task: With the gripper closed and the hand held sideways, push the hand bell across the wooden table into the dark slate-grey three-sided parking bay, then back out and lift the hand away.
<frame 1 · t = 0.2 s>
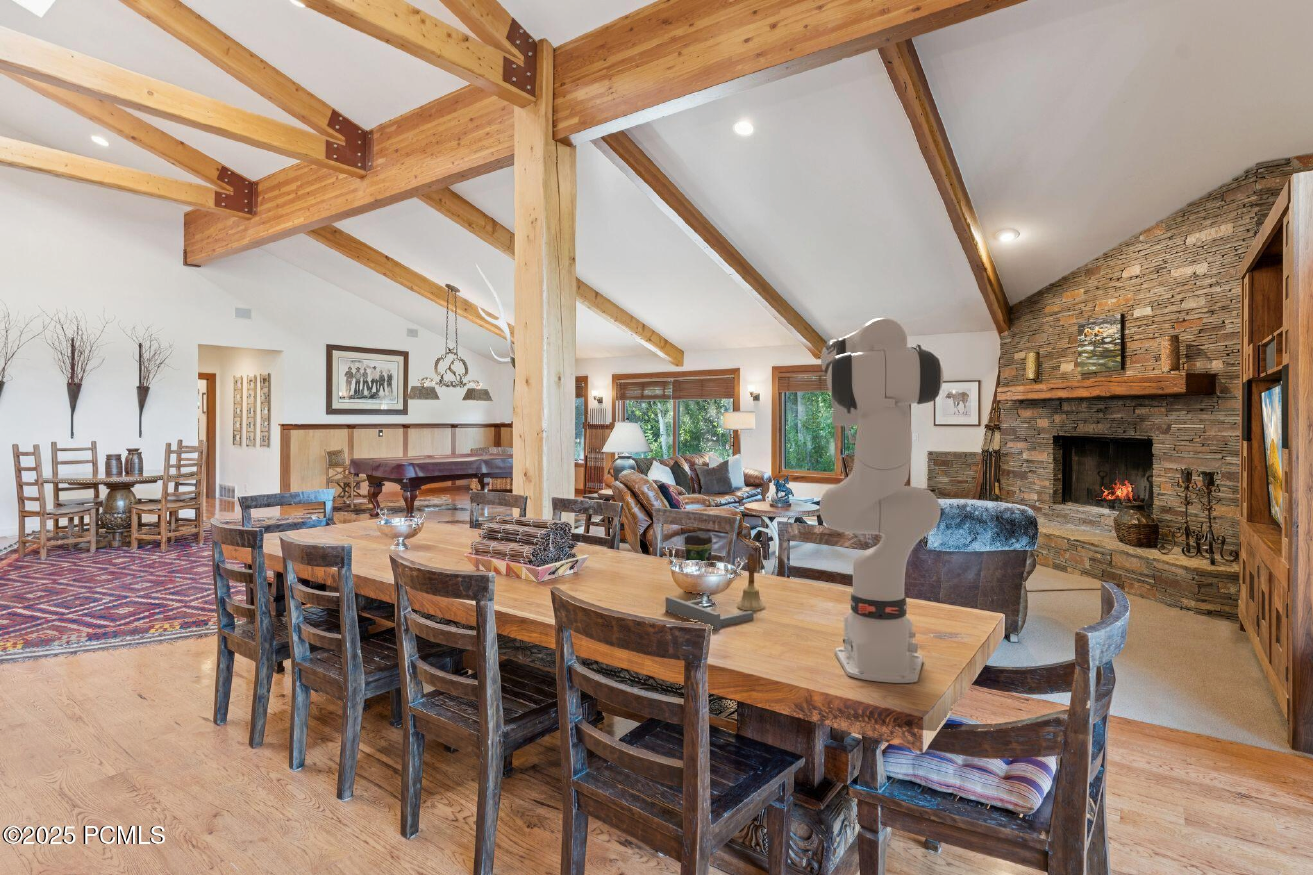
hand: (870, 443, 179), 48 cm above the table, tool pointing down, fingers open, 8 cm apart
parking bay: (713, 614, 184), on the table
hand bell: (750, 608, 192), on the table
coffee jar: (698, 589, 214), on the table
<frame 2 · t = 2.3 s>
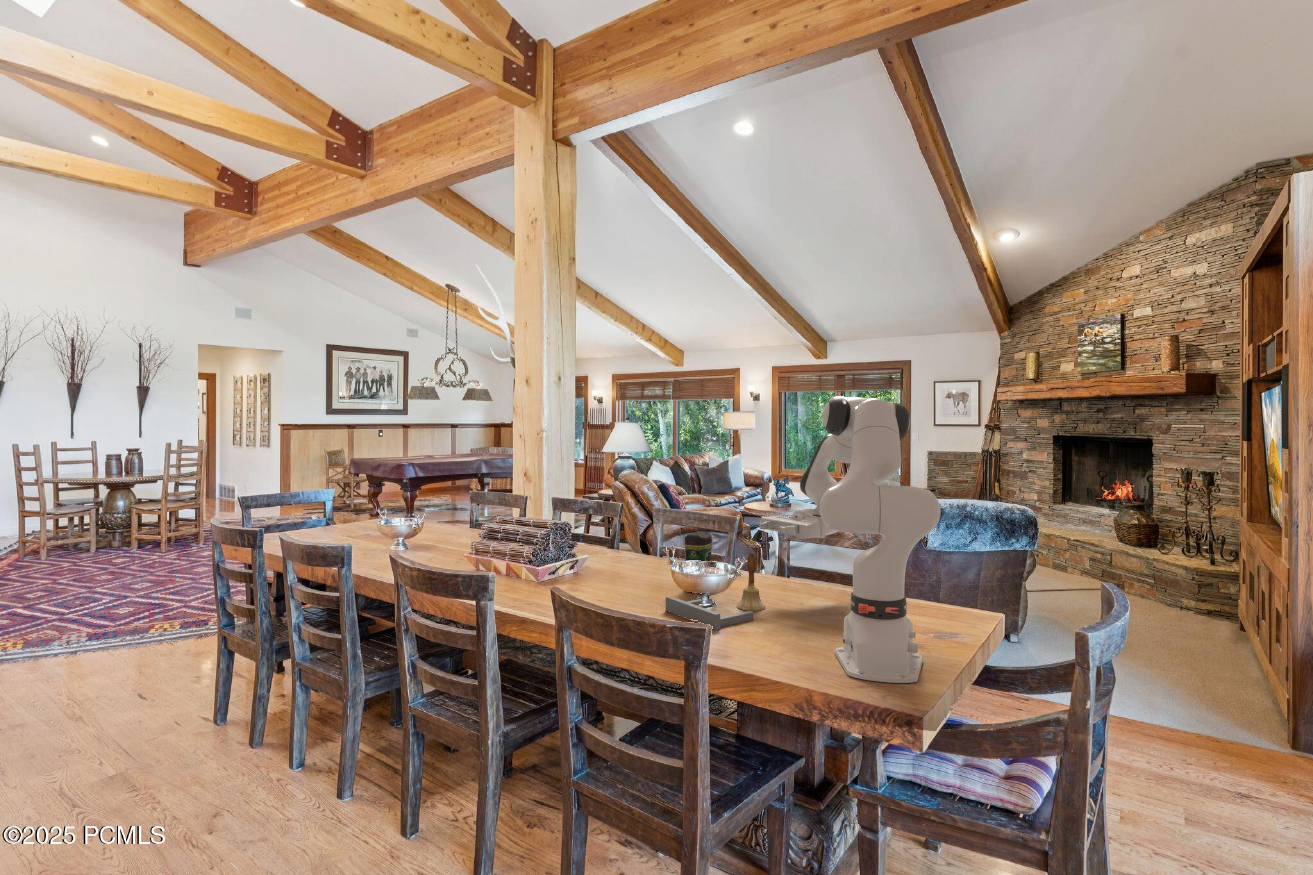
hand: (771, 528, 197), 22 cm above the table, tool horizontal, fingers open, 7 cm apart
nothing on the table moved.
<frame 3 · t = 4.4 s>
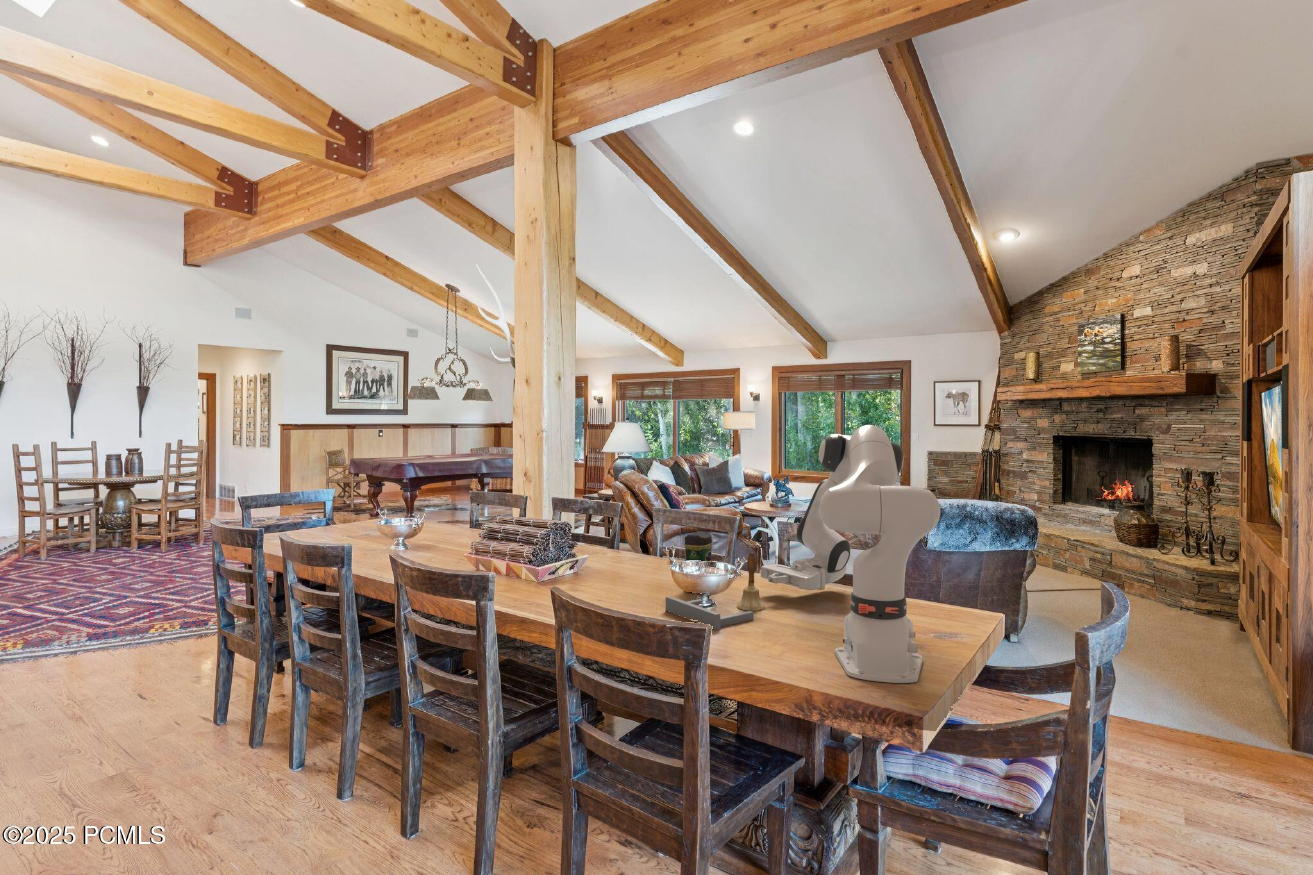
hand: (771, 579, 197), 7 cm above the table, tool horizontal, fingers closed
nothing on the table moved.
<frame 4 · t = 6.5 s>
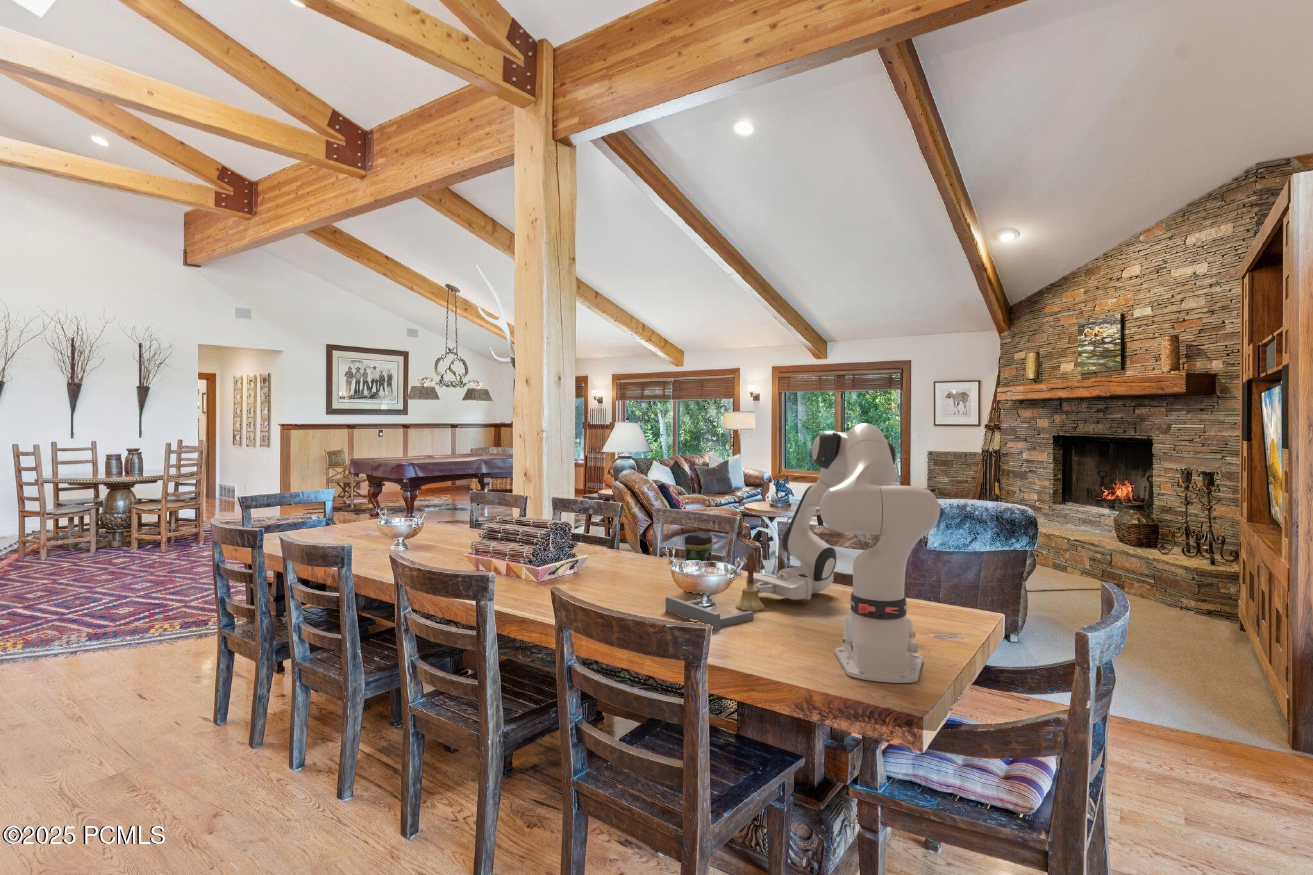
hand: (756, 589, 193), 5 cm above the table, tool horizontal, fingers closed
hand bell: (750, 608, 192), on the table, touching gripper
everything else where it was.
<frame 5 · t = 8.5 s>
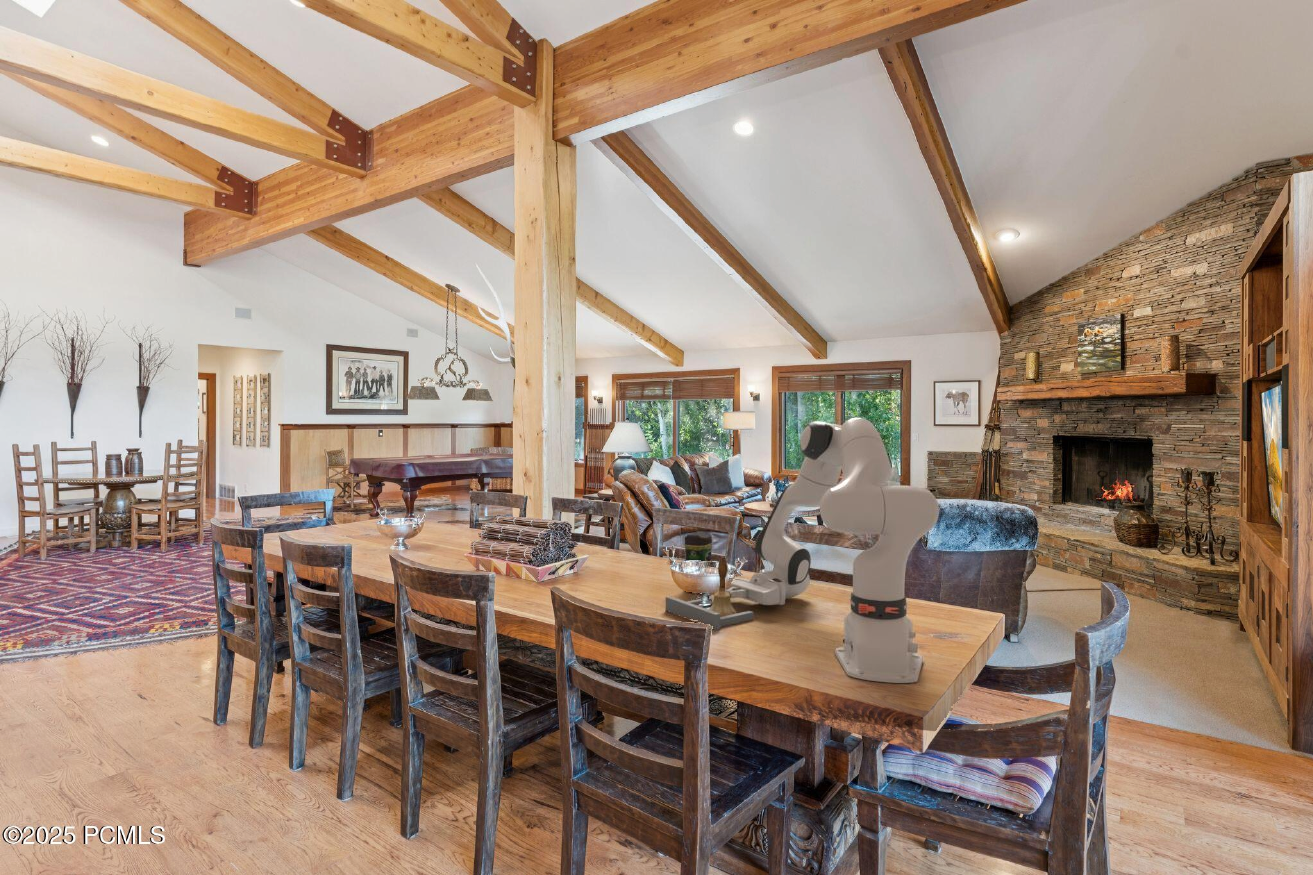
hand: (728, 594, 187), 5 cm above the table, tool horizontal, fingers closed, pressing on hand bell
hand bell: (721, 613, 186), on the table, touching gripper
everything else where it was.
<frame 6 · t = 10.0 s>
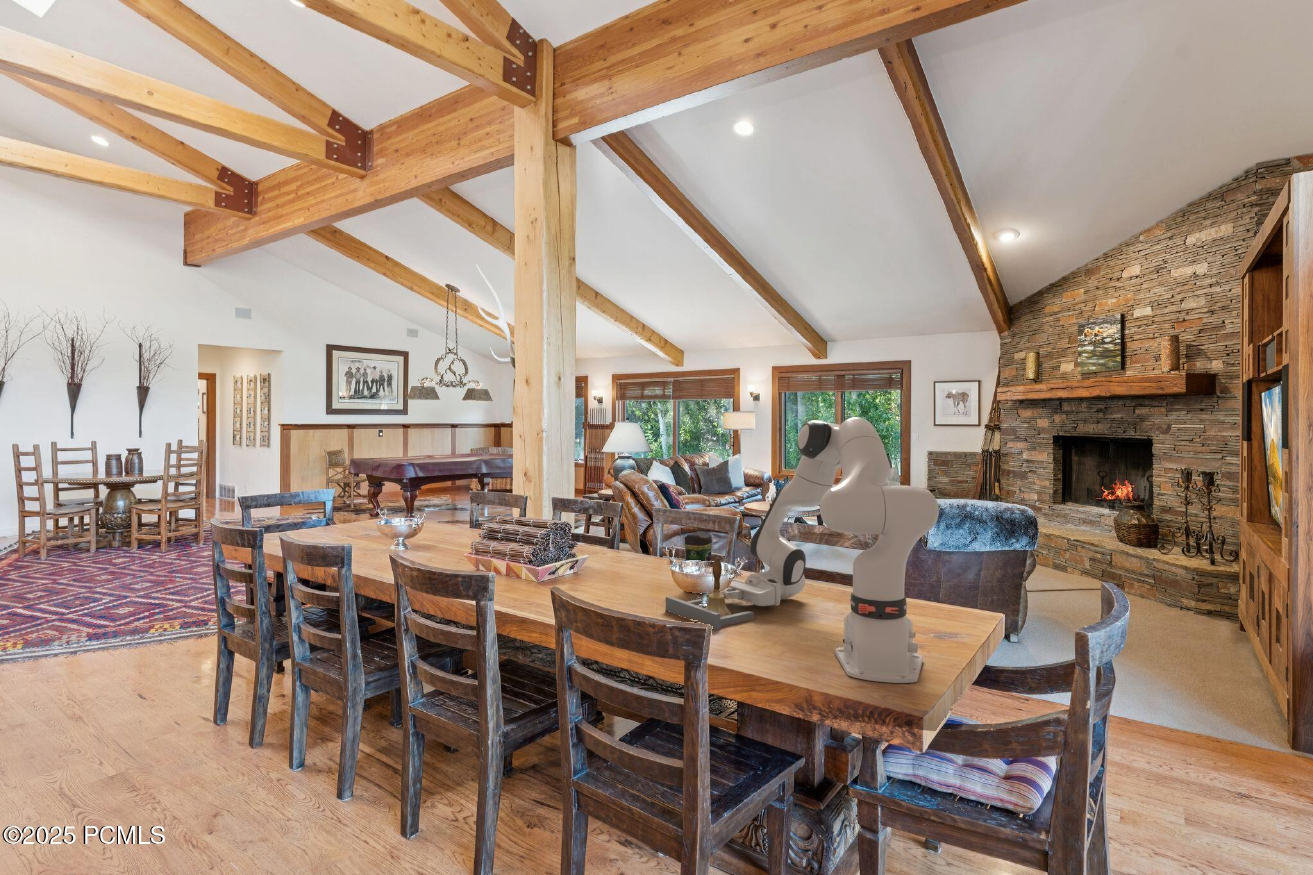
hand: (722, 595, 186), 5 cm above the table, tool horizontal, fingers closed
hand bell: (716, 615, 185), on the table
everything else where it was.
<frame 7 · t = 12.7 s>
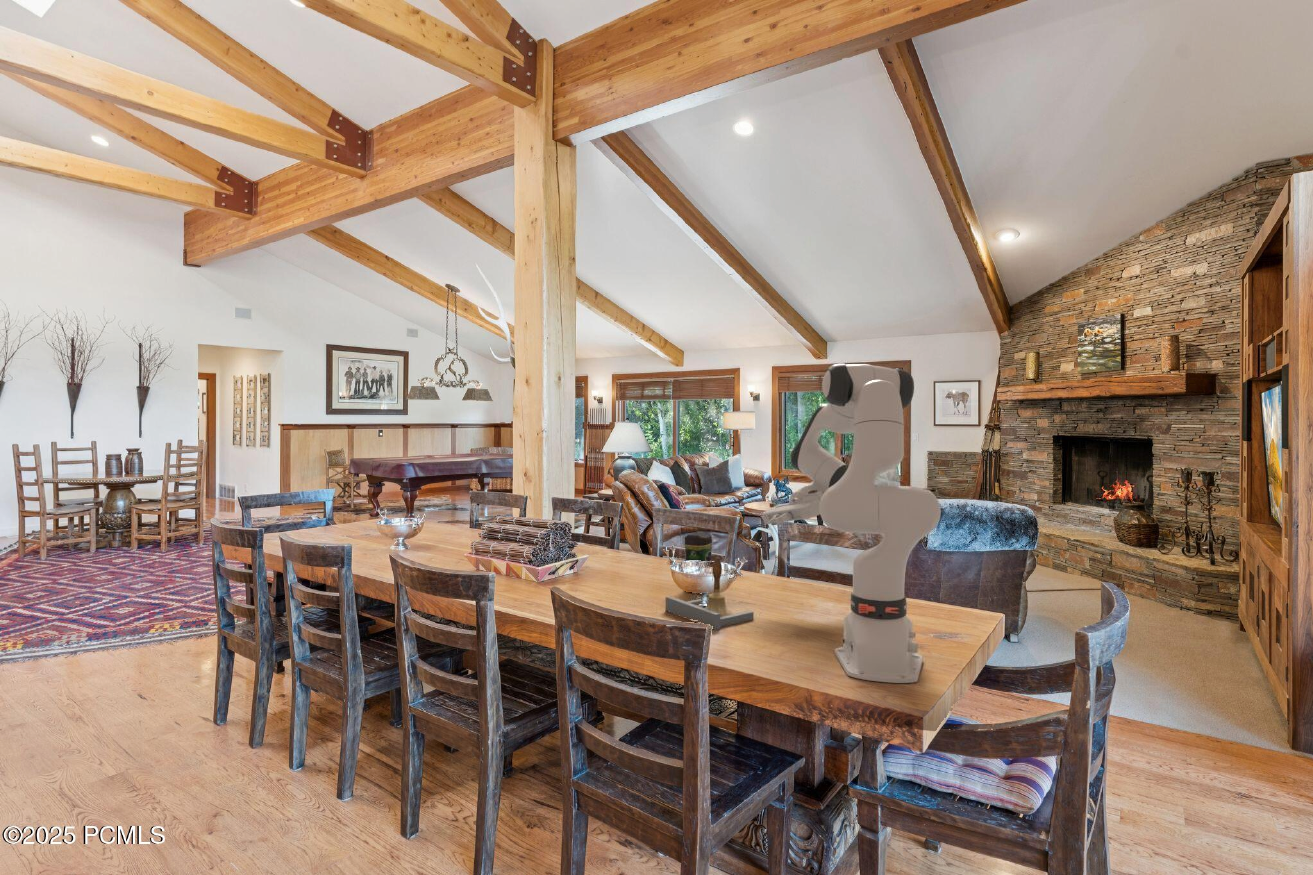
hand: (773, 522, 190), 25 cm above the table, tool tilted 70°, fingers closed
nothing on the table moved.
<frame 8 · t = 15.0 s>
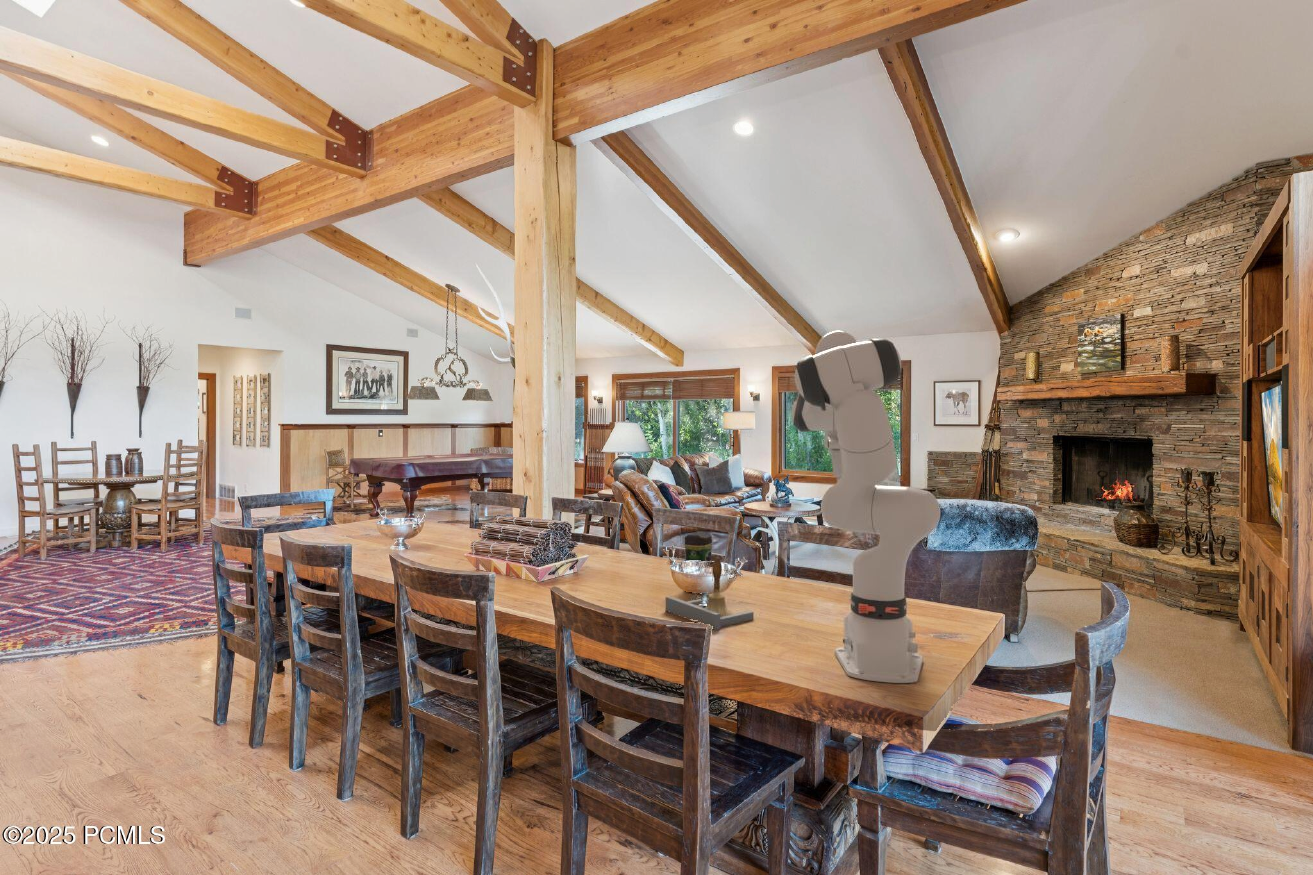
hand: (840, 490, 188), 34 cm above the table, tool pointing down, fingers closed
nothing on the table moved.
at the end: hand bell 0.9 cm from the parking bay (horizontally); hand bell tilted 0° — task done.
